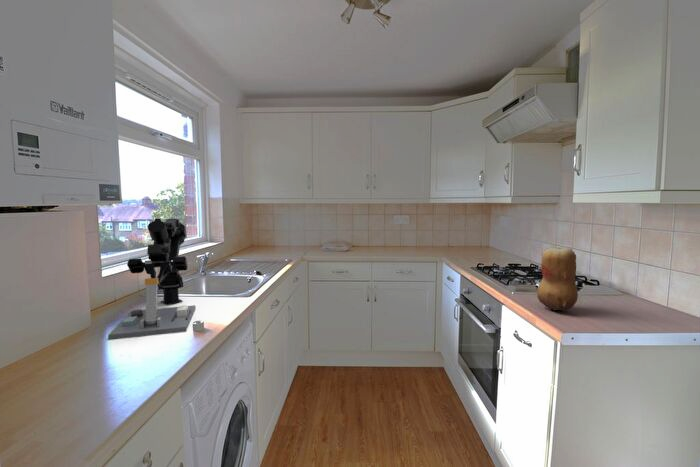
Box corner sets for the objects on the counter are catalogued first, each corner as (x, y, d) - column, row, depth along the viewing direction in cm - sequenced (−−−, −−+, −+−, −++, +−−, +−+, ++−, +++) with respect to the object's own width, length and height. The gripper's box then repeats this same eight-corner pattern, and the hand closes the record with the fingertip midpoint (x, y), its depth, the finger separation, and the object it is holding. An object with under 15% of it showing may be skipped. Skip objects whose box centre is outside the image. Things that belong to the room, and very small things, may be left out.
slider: (177, 315, 123) (177, 308, 122) (187, 314, 123) (186, 307, 123) (176, 317, 121) (176, 310, 120) (186, 316, 122) (185, 309, 121)
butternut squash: (529, 305, 139) (533, 245, 137) (562, 304, 139) (565, 244, 137) (550, 316, 125) (554, 250, 123) (586, 316, 126) (590, 249, 123)
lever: (145, 325, 112) (146, 279, 114) (158, 324, 113) (158, 278, 116) (143, 326, 110) (144, 278, 113) (157, 325, 111) (157, 277, 114)
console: (132, 314, 128) (131, 304, 127) (195, 308, 134) (195, 299, 134) (108, 339, 105) (107, 327, 105) (186, 331, 112) (185, 319, 111)
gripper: (127, 236, 120) (118, 273, 110) (184, 234, 125) (181, 270, 116) (135, 255, 128) (127, 291, 118) (189, 252, 133) (186, 286, 124)
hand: (155, 284), depth 119 cm, fingers closed
